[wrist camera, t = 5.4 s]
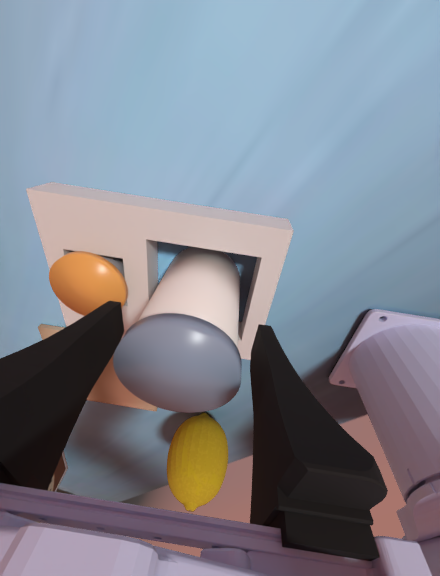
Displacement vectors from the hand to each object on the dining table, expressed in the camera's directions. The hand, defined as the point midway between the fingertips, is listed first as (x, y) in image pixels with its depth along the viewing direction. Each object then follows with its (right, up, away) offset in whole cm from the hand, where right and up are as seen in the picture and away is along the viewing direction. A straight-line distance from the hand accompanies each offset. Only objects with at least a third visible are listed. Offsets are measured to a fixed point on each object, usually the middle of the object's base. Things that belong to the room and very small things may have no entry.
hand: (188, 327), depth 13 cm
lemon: (0, -11, +13) cm, 18 cm away
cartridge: (+1, +3, +4) cm, 5 cm away
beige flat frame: (-2, +3, +4) cm, 6 cm away
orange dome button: (-6, +4, +4) cm, 8 cm away
